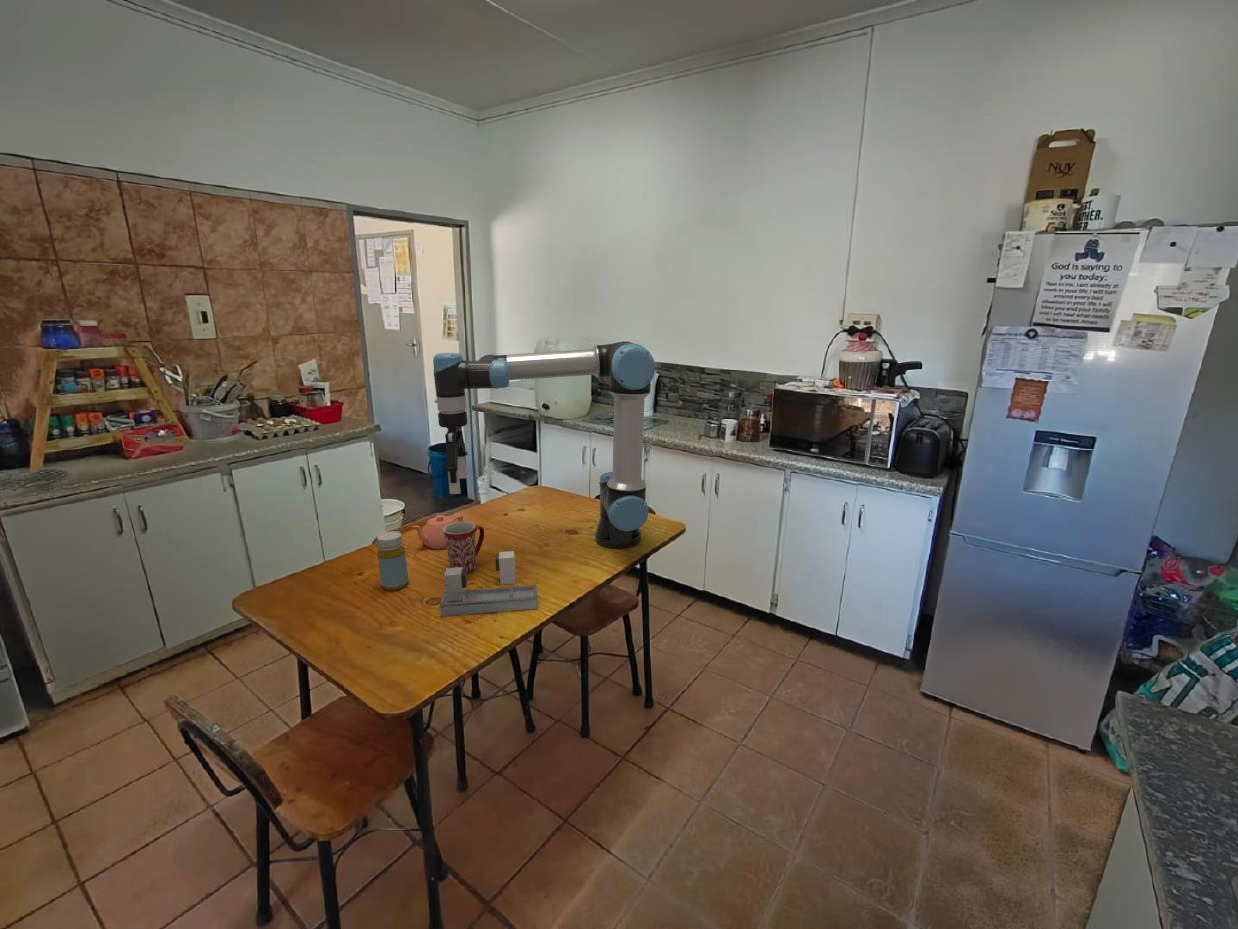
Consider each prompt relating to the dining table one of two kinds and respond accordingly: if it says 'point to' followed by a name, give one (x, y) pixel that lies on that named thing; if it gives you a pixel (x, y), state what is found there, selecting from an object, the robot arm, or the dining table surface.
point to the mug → (463, 544)
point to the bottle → (392, 561)
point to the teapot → (436, 531)
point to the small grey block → (506, 567)
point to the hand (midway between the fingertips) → (458, 485)
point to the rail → (482, 596)
